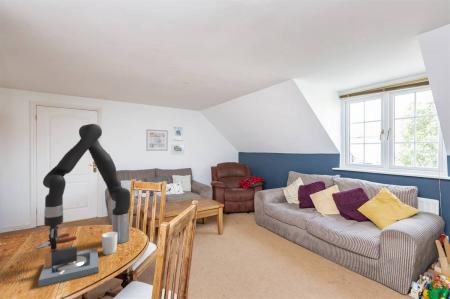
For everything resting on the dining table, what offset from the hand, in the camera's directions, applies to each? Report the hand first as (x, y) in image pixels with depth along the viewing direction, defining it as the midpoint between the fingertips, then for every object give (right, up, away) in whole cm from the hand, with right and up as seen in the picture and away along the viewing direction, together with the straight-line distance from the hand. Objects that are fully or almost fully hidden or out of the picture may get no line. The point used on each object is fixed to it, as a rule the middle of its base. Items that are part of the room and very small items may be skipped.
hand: (53, 249), depth 113 cm
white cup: (+21, -8, +14) cm, 26 cm away
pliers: (-19, -8, +27) cm, 34 cm away
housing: (+11, -8, -4) cm, 14 cm away
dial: (+10, -7, -5) cm, 13 cm away
